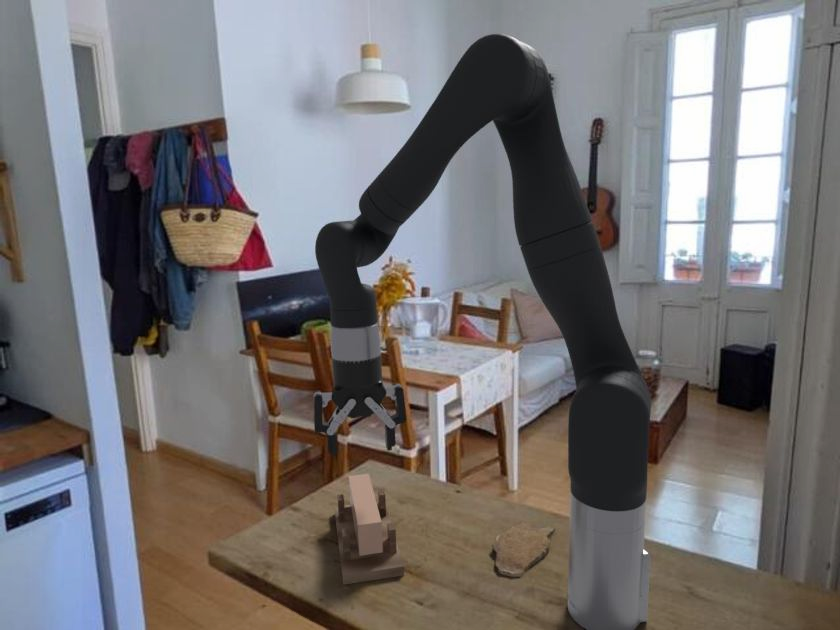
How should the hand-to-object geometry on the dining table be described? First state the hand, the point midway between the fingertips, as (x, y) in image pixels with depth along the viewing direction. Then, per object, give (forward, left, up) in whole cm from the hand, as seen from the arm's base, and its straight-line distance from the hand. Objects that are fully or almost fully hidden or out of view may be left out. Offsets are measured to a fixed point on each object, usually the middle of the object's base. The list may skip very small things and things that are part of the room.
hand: (362, 451), depth 92 cm
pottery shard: (-24, +8, -17) cm, 30 cm away
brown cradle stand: (0, 0, -16) cm, 16 cm away
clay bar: (0, 0, -13) cm, 13 cm away
